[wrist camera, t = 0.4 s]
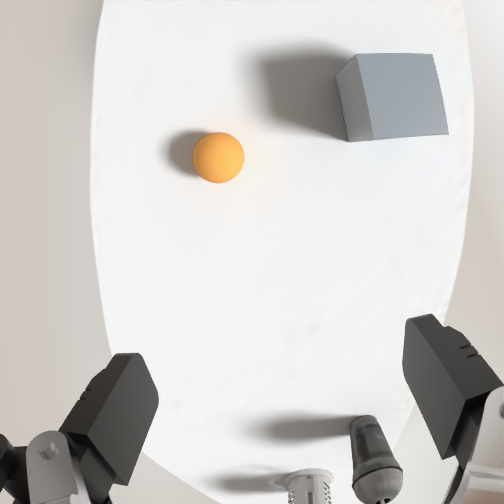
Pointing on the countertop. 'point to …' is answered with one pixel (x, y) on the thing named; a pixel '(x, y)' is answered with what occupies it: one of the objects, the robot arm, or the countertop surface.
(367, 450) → the beverage cup
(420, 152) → the countertop surface
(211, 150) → the ball
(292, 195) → the countertop surface
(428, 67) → the grey square block
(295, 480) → the french press
